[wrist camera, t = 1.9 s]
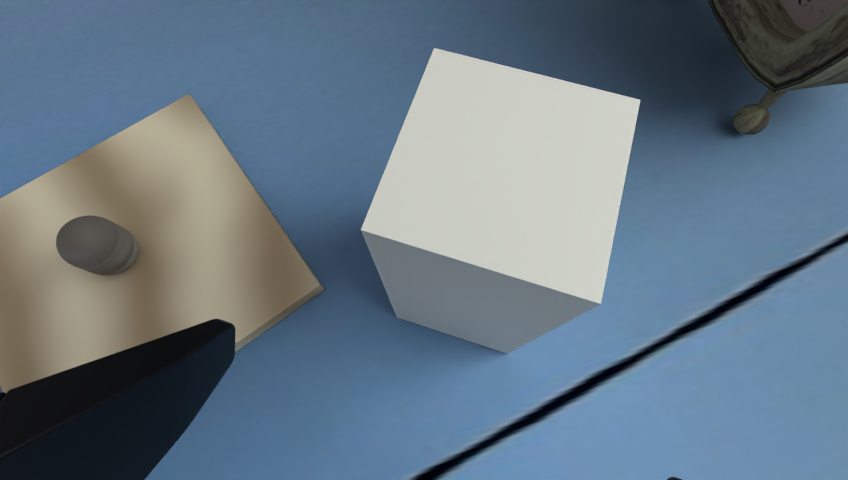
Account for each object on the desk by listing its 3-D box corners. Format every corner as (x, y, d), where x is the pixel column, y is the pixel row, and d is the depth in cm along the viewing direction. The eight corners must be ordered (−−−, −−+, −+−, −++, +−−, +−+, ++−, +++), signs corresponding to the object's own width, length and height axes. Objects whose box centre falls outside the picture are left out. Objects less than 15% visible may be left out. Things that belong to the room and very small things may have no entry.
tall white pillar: (507, 353, 21) (600, 304, 9) (396, 317, 21) (360, 230, 10) (534, 248, 23) (640, 99, 11) (431, 217, 23) (434, 48, 12)
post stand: (56, 476, 19) (-49, 499, 15) (-40, 238, 23) (-146, 203, 19) (324, 289, 22) (299, 264, 18) (198, 104, 26) (152, 47, 22)
